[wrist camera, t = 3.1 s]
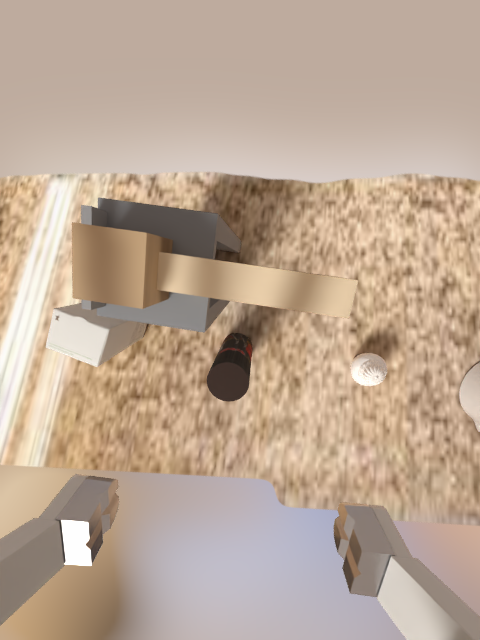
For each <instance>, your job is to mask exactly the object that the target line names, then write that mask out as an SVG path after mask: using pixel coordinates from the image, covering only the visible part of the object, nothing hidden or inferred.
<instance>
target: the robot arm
mask: <svg viewBox="0 0 480 640" xmlns="http://www.w3.org/2000/svg"><path fill="white" fill-rule="evenodd" d="M459 397H460V402H461V405H462V407H463V409H464V411H465V412H466V413H467V414H468V415H469V416H470V417H471V418H472V419H473V420H474V422H475V425H476V428H477V430H478V431H479V432H480V362H479V363H478V364H476V365H475V366H474V367H473V368H472V369H471V370H470V371H469V372H468V373H467V374H466V376H465V378H464V379H463V381H462V384H461V387H460V393H459ZM117 489H118V480H116V479H111V478H103V477H95V476H87V475H79V474H76V475H74V476H73V477H71V478H70V480H69V481H68V482H67V483H66V484H65V486H64V487H63V488H62V489H61V491H60V492H59V493H58V494H57V496H56V497H55V498H54V499H53V501H52V502H51V503H50V504H49V506H48V507H47V508H46V509H45V511H44V512H43V513H42V514H41V516H40V517H39V518H33V519H32V520H30V521H28V522H27V523H25V524H24V525H22V526H20V527H19V528H17V529H16V530H14V531H12V532H11V533H9V534H8V535H6V536H4V537H3V538H1V539H0V625H2V624H3V623H4V622H5V621H6V620H7V619H8V618H9V617H10V616H11V615H12V614H13V613H14V612H15V611H16V610H18V609H19V608H20V607H21V606H22V605H23V604H24V603H25V602H26V601H27V600H28V599H29V598H30V597H32V596H33V595H34V594H35V593H36V592H37V591H38V590H39V589H40V588H41V587H42V586H43V585H44V584H45V583H46V582H48V581H49V580H50V579H51V578H52V577H53V576H54V575H55V574H56V573H57V572H58V571H59V570H60V569H61V568H62V567H64V564H75V565H90V566H91V565H92V563H93V561H94V559H95V557H96V555H97V553H98V551H99V549H100V548H101V546H102V544H103V534H104V533H105V532H106V531H107V530H109V529H110V528H111V526H112V523H113V522H114V519H115V517H116V513H117V510H118V505H119V496H118V495H117V494H116V493H115V492H116V490H117ZM337 510H338V513H339V517H337V518H336V519H335V522H334V540H335V544H336V548H337V552H338V553H339V555H340V556H341V557H342V558H343V559H344V564H343V568H342V569H343V572H344V575H345V578H346V582H347V585H348V588H349V592H350V593H351V594H358V595H365V596H372V597H377V600H378V601H379V603H380V604H381V605H382V607H383V608H384V609H385V611H386V612H387V614H388V615H389V616H390V618H391V619H392V620H393V622H394V623H395V624H396V626H397V627H398V629H399V630H400V631H401V633H402V634H403V635H404V637H405V638H406V639H407V640H480V616H478V615H477V614H476V613H475V612H474V611H473V610H472V609H471V608H470V607H469V606H468V605H467V604H466V603H465V602H463V601H462V600H461V599H460V598H459V597H458V596H457V595H456V594H455V593H454V592H453V591H452V590H451V589H450V588H448V587H447V586H446V585H445V584H444V583H443V582H442V581H441V580H440V579H439V578H438V577H437V576H436V575H434V574H433V573H432V572H431V571H430V570H429V569H428V568H427V567H426V566H425V565H424V564H423V563H422V562H421V561H419V560H418V559H416V558H413V557H412V556H411V554H410V552H409V550H408V548H407V547H406V545H405V543H404V541H403V539H402V537H401V535H400V534H399V532H398V530H397V528H396V526H395V525H394V523H393V521H392V519H391V517H390V515H389V513H388V512H387V510H386V509H385V508H384V507H383V506H377V505H367V504H358V503H347V502H340V504H339V505H338V509H337Z"/></svg>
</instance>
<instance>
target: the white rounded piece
mask: <svg viewBox="0 0 480 640" xmlns="http://www.w3.org/2000/svg"><path fill="white" fill-rule="evenodd" d="M386 374H387V365H386V363H385V361H384V359H383V358H382V357H380V356H379V355H377V354H374V353H363V354H360V355H357V356H356V357H355V358H354V359H353V361H352V363H351V375H352V377H353V379H354V380H355V381H356V382H357V383H359V384H361V385H364V386H373V385H376V384H380V382H382V381H383V380H384V378H385V376H386Z"/></svg>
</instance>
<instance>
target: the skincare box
mask: <svg viewBox="0 0 480 640" xmlns="http://www.w3.org/2000/svg"><path fill="white" fill-rule="evenodd" d="M146 326H147V323H141V322H135V321H128V320H122V319H115V318H109V317H103V316H97V309H93V310H87V309H82V303H79V304H75V305H70V306H65V307H60V308H54V310H53V315H52V320H51V325H50V330H49V334H48V338H47V343H46V348H49V349H51V350H54V351H57V352H59V353H62V354H64V355H67V356H70V357H72V358H75V359H77V360H80V361H83V362H85V363H88V364H90V365H93V366H96V367H98V366H99V365H101V364H103V363H104V362H106V361H107V360H109V359H110V358H112V357H113V356H115V355H117V354H118V353H120V352H121V351H123V350H124V349H126V348H127V347H129V346H131V345H132V344H134V343H135V342H137V341H138V340H140V339H142V338H143V336H144V333H145V330H146Z"/></svg>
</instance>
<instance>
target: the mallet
mask: <svg viewBox="0 0 480 640" xmlns="http://www.w3.org/2000/svg"><path fill="white" fill-rule="evenodd" d="M172 245H173V240H171V239H168V238H164V237H160V236H157V235H153V234H149V233H145V232H138V231H131V230H123V229H116V228H109V227H102V226H95V225H88V224H81V223H73V222H72V280H73V298H75V299H82V300H88V301H95V302H101V303H108V304H114V305H121V306H127V307H133V308H140V309H144V308H146V307H149V306H152V305H154V304H157V303H159V302H162V301H165V300H167V299H168V298H169V292H175V293H181V294H188V295H195V296H201V297H208V298H215V299H221V300H228V301H234V302H241V303H248V304H254V305H261V306H268V307H274V308H281V309H288V310H294V311H301V312H308V313H314V314H321V315H328V316H334V317H341V318H348V319H349V316H350V312H351V308H352V304H353V300H354V296H355V292H356V288H357V283H358V280H352V279H346V278H340V277H333V276H326V275H319V274H312V273H305V272H298V271H291V270H284V269H277V268H270V267H263V266H256V265H249V264H242V263H235V262H228V261H221V260H214V259H207V258H200V257H193V256H186V255H179V254H172Z"/></svg>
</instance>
